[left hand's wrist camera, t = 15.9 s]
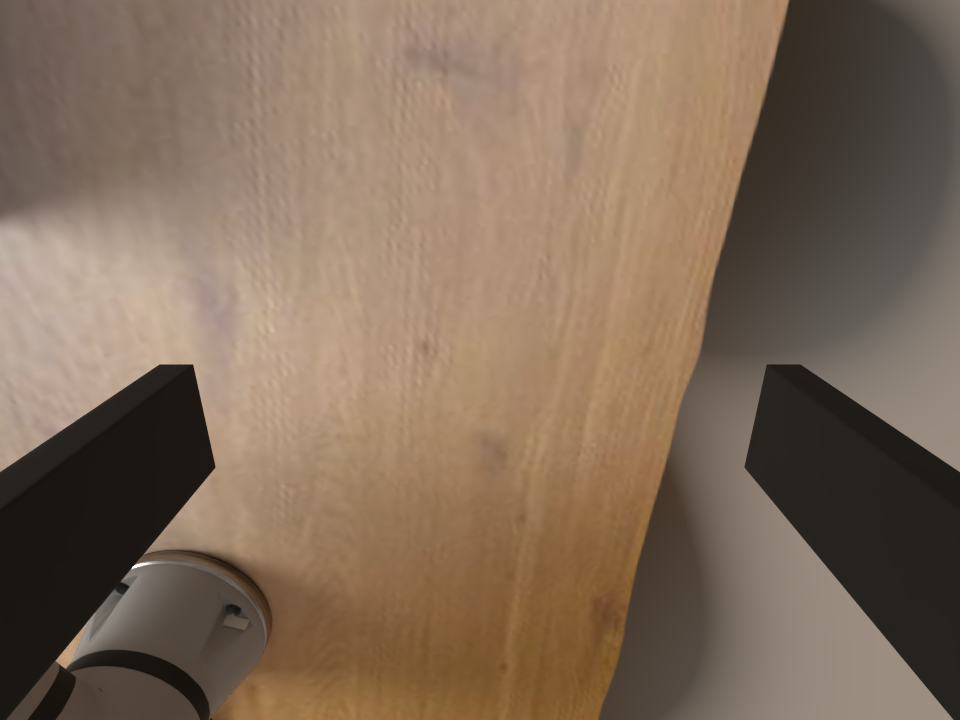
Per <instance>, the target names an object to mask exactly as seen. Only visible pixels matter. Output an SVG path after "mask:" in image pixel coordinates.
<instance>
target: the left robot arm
mask: <svg viewBox="0 0 960 720" xmlns="http://www.w3.org/2000/svg"><path fill="white" fill-rule="evenodd" d="M214 469H215V463H214V458H213V453H212V449H211V444H210V440H209V435H208V431H207V426H206V421H205V417H204V412H203V408H202V403H201V398H200V394H199V389H198V385H197V380H196V376H195V371H194V366H193V365H158V366H157V367H155V368H154V369H152V370H151V371H149V372H148V373H146V374H145V375H143V376H142V377H140V378H139V379H138V380H136V381H135V382H133V383H132V384H130V385H129V386H127V387H126V388H124V389H123V390H121V391H120V392H118V393H117V394H115V395H114V396H112V397H111V398H109V399H108V400H106V401H105V402H103V403H102V404H100V405H99V406H98V407H96V408H95V409H93V410H92V411H90V412H89V413H87V414H86V415H84V416H83V417H81V418H80V419H78V420H77V421H75V422H74V423H72V424H71V425H69V426H68V427H66V428H65V429H63V430H62V431H61V432H59V433H58V434H56V435H55V436H53V437H52V438H50V439H49V440H47V441H46V442H44V443H43V444H41V445H40V446H38V447H37V448H35V449H34V450H32V451H31V452H29V453H28V454H26V455H25V456H24V457H22V458H21V459H19V460H18V461H16V462H15V463H13V464H12V465H10V466H9V467H7V468H6V469H4V470H3V471H1V472H0V720H212V718H211V716H212V715H213V714H214V713H215V712H216V711H217V710H218V708H219V707H220V706H221V705H222V704H223V703H224V702H225V700H226V699H227V698H228V697H229V696H230V695H231V694H232V692H233V691H234V690H235V689H236V688H237V687H238V686H239V684H240V683H241V682H242V681H243V680H244V679H245V678H246V676H247V675H248V674H249V673H250V672H251V671H252V669H253V668H254V667H255V665H256V664H257V662H258V661H259V660H260V658H261V656H262V654H263V652H264V649H265V647H266V645H267V642H268V640H269V637H270V634H271V628H272V619H271V613H270V610H269V607H268V604H267V602H266V600H265V598H264V597H263V595H262V594H261V592H260V591H259V589H258V588H257V587H256V586H255V585H254V584H253V583H252V582H251V581H250V580H249V579H248V578H247V577H246V576H244V575H243V574H242V573H240V572H239V571H237V570H236V569H234V568H233V567H231V566H229V565H228V564H225V563H223V562H221V561H219V560H217V559H214V558H211V557H208V556H205V555H201V554H197V553H192V552H186V551H159V552H153V553H149V554H145V555H143V554H144V553H145V552H146V551H147V549H148V548H149V547H150V546H151V545H152V543H153V542H154V541H155V540H156V539H157V537H158V536H159V535H160V534H161V533H162V531H163V530H164V529H165V528H166V527H167V525H168V524H169V523H170V522H171V520H172V519H173V518H174V517H175V516H176V514H177V513H178V512H179V511H180V510H181V508H182V507H183V506H184V505H185V504H186V502H187V501H188V500H189V499H190V498H191V496H192V495H193V494H194V493H195V492H196V490H197V489H198V488H199V487H200V485H201V484H202V483H203V482H204V481H205V479H206V478H207V477H208V476H209V475H210V473H211V472H212V471H213V470H214ZM745 469H746V470H747V471H748V472H749V473H750V474H751V476H752V477H753V478H754V479H755V481H756V482H757V483H758V484H759V485H760V487H761V488H762V489H763V490H764V491H765V493H766V494H767V495H768V496H769V498H770V499H771V500H772V501H773V502H774V504H775V505H776V506H777V507H778V508H779V510H780V511H781V512H782V513H783V514H784V516H785V517H786V518H787V519H788V520H789V522H790V523H791V524H792V525H793V527H794V528H795V529H796V530H797V531H798V533H799V534H800V535H801V536H802V537H803V539H804V540H805V541H806V542H807V543H808V545H809V546H810V547H811V548H812V549H813V551H814V552H815V553H816V554H817V555H818V557H819V558H820V559H821V560H822V562H823V563H824V564H825V565H826V566H827V568H828V569H829V570H830V571H831V572H832V574H833V575H834V576H835V577H836V578H837V580H838V581H839V582H840V583H841V584H842V586H843V587H844V588H845V589H846V590H847V592H848V593H849V594H850V595H851V597H852V598H853V599H854V600H855V601H856V602H857V604H858V605H859V606H860V607H861V609H862V610H863V611H864V612H865V613H866V615H867V616H868V617H869V618H870V619H871V621H872V622H873V623H874V624H875V625H876V627H877V628H878V629H879V630H880V631H881V633H882V634H883V635H884V636H885V638H886V639H887V640H888V641H889V642H890V644H891V645H892V646H893V647H894V648H895V650H896V651H897V652H898V653H899V654H900V656H901V657H902V658H903V659H904V660H905V662H906V663H907V664H908V665H909V666H910V668H911V669H912V670H913V671H914V673H915V674H916V675H917V676H918V677H919V679H920V680H921V681H922V682H923V683H924V684H925V686H926V687H927V688H928V689H929V691H930V692H931V693H932V694H933V695H934V697H935V698H936V699H937V700H938V702H939V703H940V704H941V705H942V706H943V708H944V709H945V710H946V711H947V712H948V714H949V715H950V716H951V717H952V718H953V720H960V472H959V471H957V470H956V469H954V468H953V467H951V466H950V465H948V464H947V463H945V462H944V461H942V460H941V459H939V458H938V457H936V456H935V455H933V454H932V453H931V452H929V451H928V450H926V449H925V448H923V447H922V446H920V445H919V444H917V443H916V442H914V441H913V440H911V439H910V438H908V437H907V436H905V435H904V434H902V433H901V432H899V431H898V430H896V429H895V428H894V427H892V426H891V425H889V424H888V423H886V422H885V421H883V420H882V419H880V418H879V417H877V416H876V415H874V414H873V413H871V412H870V411H868V410H867V409H865V408H864V407H862V406H861V405H859V404H858V403H857V402H855V401H854V400H852V399H851V398H849V397H848V396H846V395H845V394H843V393H842V392H840V391H839V390H837V389H836V388H834V387H833V386H831V385H830V384H828V383H827V382H825V381H824V380H822V379H821V378H820V377H818V376H817V375H815V374H814V373H812V372H811V371H809V370H808V369H806V368H805V367H803V366H802V365H767V366H766V371H765V376H764V380H763V385H762V389H761V394H760V398H759V403H758V408H757V412H756V417H755V421H754V426H753V431H752V435H751V440H750V444H749V449H748V453H747V458H746V463H745ZM85 624H86V626H85V629H84V631H83V634H82V636H81V639H80V641H79V644H78V646H77V649H76V651H75V654H74V657H73V659H72V661H71V663H70V664H69V665H68V667H67V668H66V669H65V668H63V667H62V666H61V665H60V664H58V663H57V662H56V661H55V660H56V659H57V658H58V657H59V656H60V654H61V653H62V652H63V651H64V650H65V648H66V647H67V646H68V645H69V644H70V642H71V641H72V640H73V639H74V638H75V636H76V635H77V634H78V633H79V632H80V630H81V629H82V628H83V627H84V625H85Z"/></svg>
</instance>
